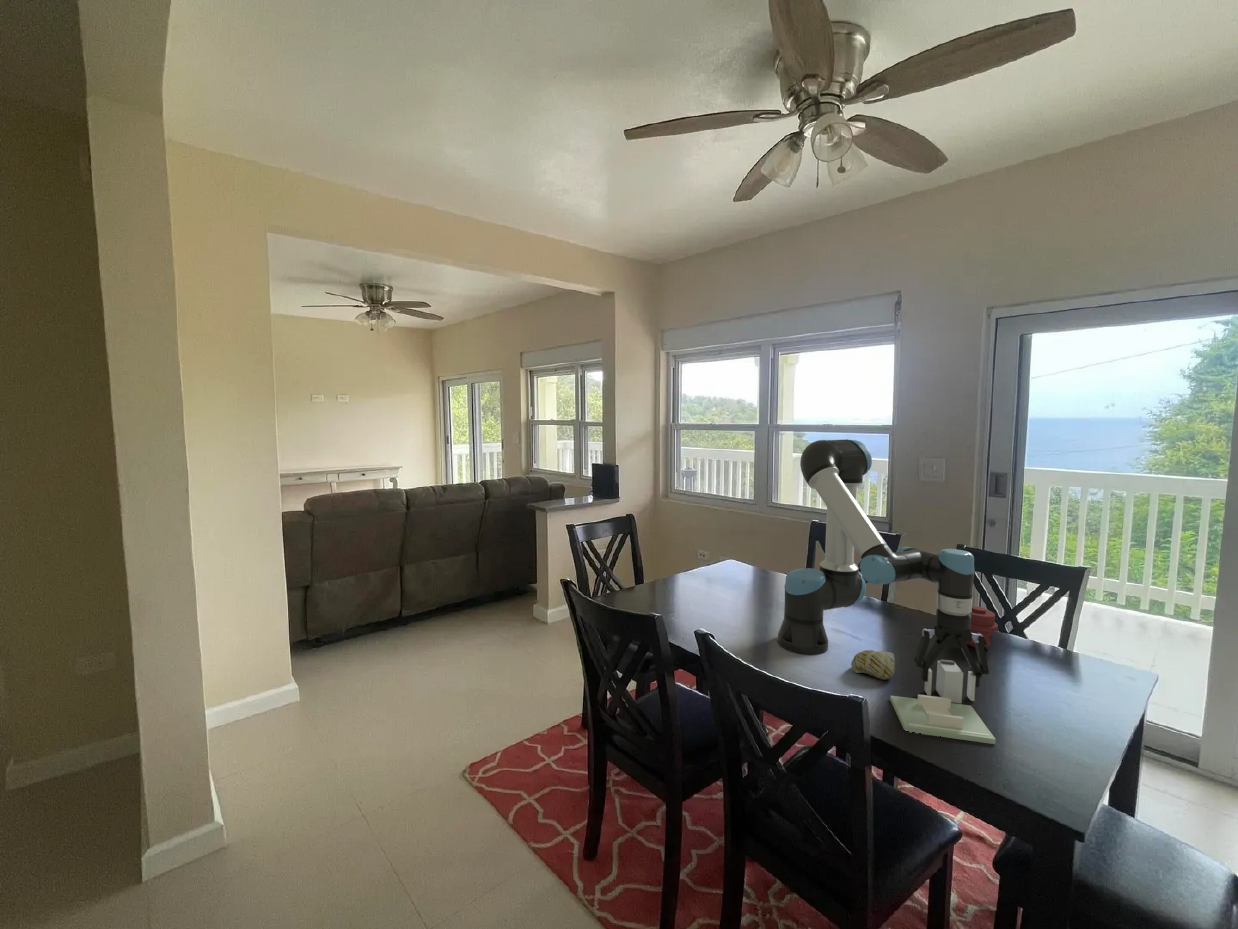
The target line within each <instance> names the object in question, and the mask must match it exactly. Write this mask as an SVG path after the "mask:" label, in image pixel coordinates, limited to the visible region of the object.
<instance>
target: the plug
mask: <svg viewBox="0 0 1238 929" xmlns="http://www.w3.org/2000/svg"><path fill="white" fill-rule="evenodd" d="M936 664H937V666H936V681H935V690H936V692H937V693H938V695H939V697H943V698H950V699H951V703H954V704H963V702H962V701H963V700H962V699H963V686H964V683H963V682H964V672H963V670H962V669H961V668H960V667H959V666H958V665H957V663H956V661H954V660H951V659H940V660H937V663H936Z"/></svg>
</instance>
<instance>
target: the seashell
mask: <svg viewBox="0 0 1238 929" xmlns="http://www.w3.org/2000/svg"><path fill="white" fill-rule="evenodd" d="M895 664H896V660H895V654H894V653H893V652H890V651H883V650H869V649H868V650H866V649H865V650H862V651H860V652H857V653H856V654H855V655H854V657H853V659H852V660H851V664H850V666H851V671H852V672H853V673H855V674H863V673H864V674H867V675H870V676H872V677H873V678H876V679H879V680H881V681H883V680H884V681H885V680H889V679H891V678H892V677H893V676H894V675H895Z"/></svg>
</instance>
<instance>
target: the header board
mask: <svg viewBox="0 0 1238 929" xmlns="http://www.w3.org/2000/svg"><path fill="white" fill-rule="evenodd" d="M889 698H890V699H889V700H890V702H891V705H892V707H893V709H894V711H895V713H896V716H897V718H898V719H899V722H900V724H901V726H902V729H903V730H905V731H909V732H908V733H912V732H915V733H914V734H919V733H921V734H920V735H926V736H933V737H940V736H941V738H948V739H955V740H963V741H970V742H977V743H984V744H990V745H991V744H992V745H996V741H997V739H996V738H995V736H994V735H993V734H992V732H991V731H990V730H989V728H988V727H987V725H986V724H985V723H984V722H983V720H982V719H981V717H980V716H979V714H978V713H977V711H975V709H974V708H973V706H972V705H968V704H963V703H953V702H951V699H950V698H943V697H940V696H935V695H931V696H928V695H927V694H926V695H925V694H917V698H912V697H906V696H905V697H904V696H898V695H890V697H889ZM905 731H904V732H905Z"/></svg>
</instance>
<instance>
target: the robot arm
mask: <svg viewBox="0 0 1238 929" xmlns="http://www.w3.org/2000/svg"><path fill="white" fill-rule="evenodd" d="M799 462H800V463H799V465H800V466H799V467H800V471H801V474H802V476H803V479H804V480H805V482H806V483H807V485H808V486H809V488H810V489H813V490H815V491H816V492H817V494H818V495H819V497H820V498H821V499H822V501H823V503H824V505H825V506H826V525H825V526H826V527H825V544H824V545H825V548H824V549H825V550H824V560H822V561H820V562H819V569H817V568H812V567H807V568H804V567H801V568H796V569H793V570H791V571H789V572H788V573H787V574H786V576H785V584H784V586H783V587H784V607H783V608H784V609H783V610H784V611H783V612H784V614H783V620H782V622H781V625H780V628H779V631H778V632H777V643H778V644H780V645H781V646H780V647H782V648H783V649H786V650H787V651H790V650H791V651H790V652H792V651H793V653H797V654H802V655H819V654H824V653H825V652H827V650H828V649H829V638H828V636H827V632H826V628H825V626H824V625H825V624H824V611H827V610H832V609H841V608H849V607H851V606H854V605H857V604H858V603H860V602H861V601H862V600H863V599H864V597H865V595H866V592H867V591H866V590H867V584H866V582H868V583H869V584H871V585H888V584H889V585H890V584H891V583H896V582H906V581H912V580H917V579H919V580H920V579H921V580H925V581H928V582H931V583H935V584H937V595H936V607H937V609H936V614H935V625H934V627H933V628H932V629H931V628H930V629H929V628H928V629H927V628H926V627H922V628H921V630H920V631H921V632H920V633H921V638H920V641H919V643H918V646H917V649H916V652H915V656H914V659H913V662H914V664H915V666H916V667H917V668H921V670H920V671H921V672H920V673H921V674H920V677H921V679H922V681H923V682H924V692H925V693H926V695H927V696H932V681H933V670H932V669H931V667H932V665H933V664H934V662H935V661H936V659H937V658H938V657H939V656H940V654H941V653H942V652H943V651H944V650H945V649H946V648H955V649H961V652H962V654H963V656H964V658H965V659H966V661H967V663H968V666H969V667H970V669H971V671H969V670H968V673H967V686H966V687H967V688H966V696H967V698H968V699H969V700H970V701H971V702H975V695H976V688H979V687H980V680H981V678H982V677H983V675H989V674H990V669H989V666H988V660H987V655H986V652H985V646H984V641H985V638H984V637H983V636H982V635H981V634H980V633H976V634H975V633H971V631H970V628H971V615H970V613H971V612H972V607H973V590H974V589H973V587H974V578H975V573H976V570H975V569H976V568H975V557H974V555H973V553H971V552H969V551H967V550H963V549H958V548H957V549H956V548H944V549H941V550H940V552H939V553H935V552H932V551H927V550H924V549H921V548H918V547H910V546H902V547H900V548H899V549H897V550H896V551H895V552H893V550H892V549H891V547H889V545H888V544H887V542H886V541H885V540H884V539H883V536H882V535H881V534H880V533H879V530H877V527H875V526H874V524H873V523H872V520H870V518H869V517H868V516H867V514H866V513H865V511H864V510H863V508H862V507H861V505H860V504H859V503H858V501H857V498H858V497H857V493H858V491H857V490H858V488H859V487H860V486H861V485H862V484H863V480H864V477H863V476H865V475H866V474H868V473H869V471H870V470H871V468H872V465H873V464H872V463H873V460H872V454H871V452H870V450H869V448H868V447H867V446H866V445H865V444H864V443H863V442H862V441H860V440H856V439H855V440H854V439H819V440H816V441H812V442H811V443H809V444H808V445H807V446H806V447H805V448H804V449H803V451H802V453H801V457H800V461H799ZM855 551H856V553H857V554H858V556H859V557H860V558H861V560H860V563H859V566H858V565H857V564H856V562H855ZM859 570H860V571H861V572H860V571H859ZM934 635H935V637H936V639H935V640H934V643H933V645H932V646H931V648H930V650H929V651H928V652H927V650H928V647H929V645H930V641H931V640H930V639H932V638H933V636H934ZM971 638H972V639H973V641H974V642H975V648H974V649H975V651H976V656H977V657H976V658H977V660H978V665H977V663H976V661H975V660H974V657H973V655H972V654H971V651H970V649H969V646H968V645H966V643H967V642H968V641H969V640H970V639H971ZM926 653H927V654H926Z"/></svg>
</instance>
